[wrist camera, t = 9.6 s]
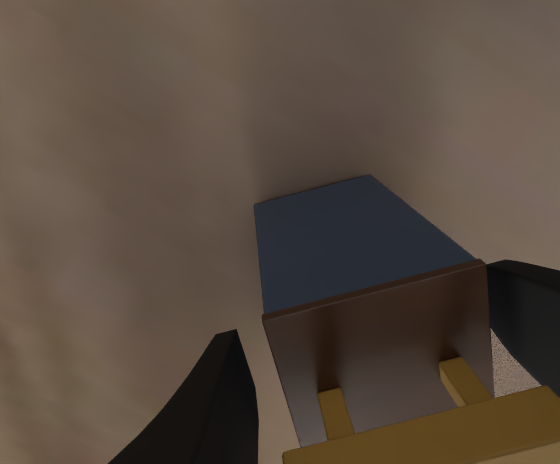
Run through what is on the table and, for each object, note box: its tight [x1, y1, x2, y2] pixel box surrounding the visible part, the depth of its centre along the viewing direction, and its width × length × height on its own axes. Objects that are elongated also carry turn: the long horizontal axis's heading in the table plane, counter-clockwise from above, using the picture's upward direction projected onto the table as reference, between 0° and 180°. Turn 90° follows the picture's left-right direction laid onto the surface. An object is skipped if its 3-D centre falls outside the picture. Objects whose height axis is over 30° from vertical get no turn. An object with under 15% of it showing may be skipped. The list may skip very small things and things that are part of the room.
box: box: [254, 175, 560, 464], centre depth 13 cm, size 12×6×6 cm
